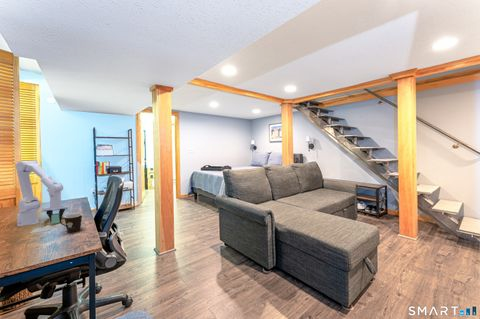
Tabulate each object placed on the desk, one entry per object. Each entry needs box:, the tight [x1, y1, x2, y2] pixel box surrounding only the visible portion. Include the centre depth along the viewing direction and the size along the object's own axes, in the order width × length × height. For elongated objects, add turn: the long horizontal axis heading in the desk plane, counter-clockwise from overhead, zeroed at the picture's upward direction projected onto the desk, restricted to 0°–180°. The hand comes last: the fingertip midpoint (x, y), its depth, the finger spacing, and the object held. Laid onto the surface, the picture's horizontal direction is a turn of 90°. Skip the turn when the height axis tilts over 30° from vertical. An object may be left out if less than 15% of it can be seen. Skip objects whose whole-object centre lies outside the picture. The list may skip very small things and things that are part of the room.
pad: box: [29, 226, 54, 234], centre depth 131 cm, size 9×9×1 cm
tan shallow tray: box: [41, 215, 66, 228], centre depth 142 cm, size 13×11×4 cm
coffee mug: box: [60, 213, 83, 234], centre depth 130 cm, size 12×9×10 cm
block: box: [51, 212, 60, 224], centre depth 142 cm, size 4×4×6 cm
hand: (56, 220), depth 142 cm, fingers closed on block, 4 cm apart
